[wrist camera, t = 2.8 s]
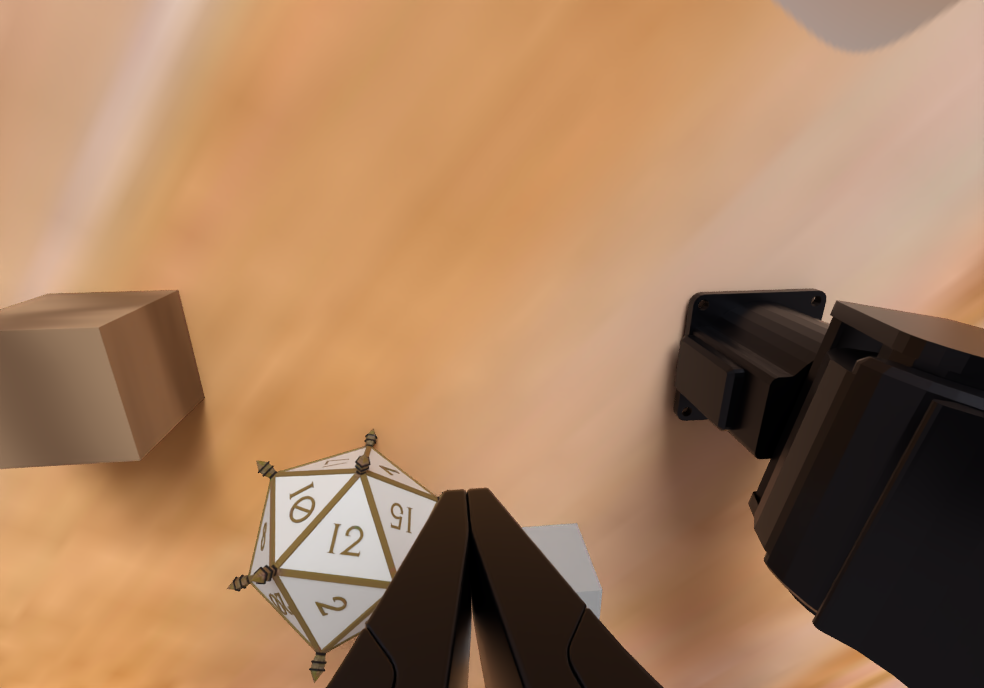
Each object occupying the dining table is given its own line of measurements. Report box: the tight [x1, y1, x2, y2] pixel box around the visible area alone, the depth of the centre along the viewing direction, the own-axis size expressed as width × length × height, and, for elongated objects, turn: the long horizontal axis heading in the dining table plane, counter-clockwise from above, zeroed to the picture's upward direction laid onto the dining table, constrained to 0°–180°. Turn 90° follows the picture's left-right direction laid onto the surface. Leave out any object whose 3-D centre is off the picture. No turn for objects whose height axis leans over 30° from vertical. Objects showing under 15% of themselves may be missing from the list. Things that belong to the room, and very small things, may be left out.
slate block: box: [522, 523, 602, 619], centre depth 25 cm, size 4×4×4 cm
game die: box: [227, 429, 443, 683], centre depth 20 cm, size 9×8×10 cm
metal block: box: [0, 290, 205, 469], centre depth 18 cm, size 5×5×5 cm
